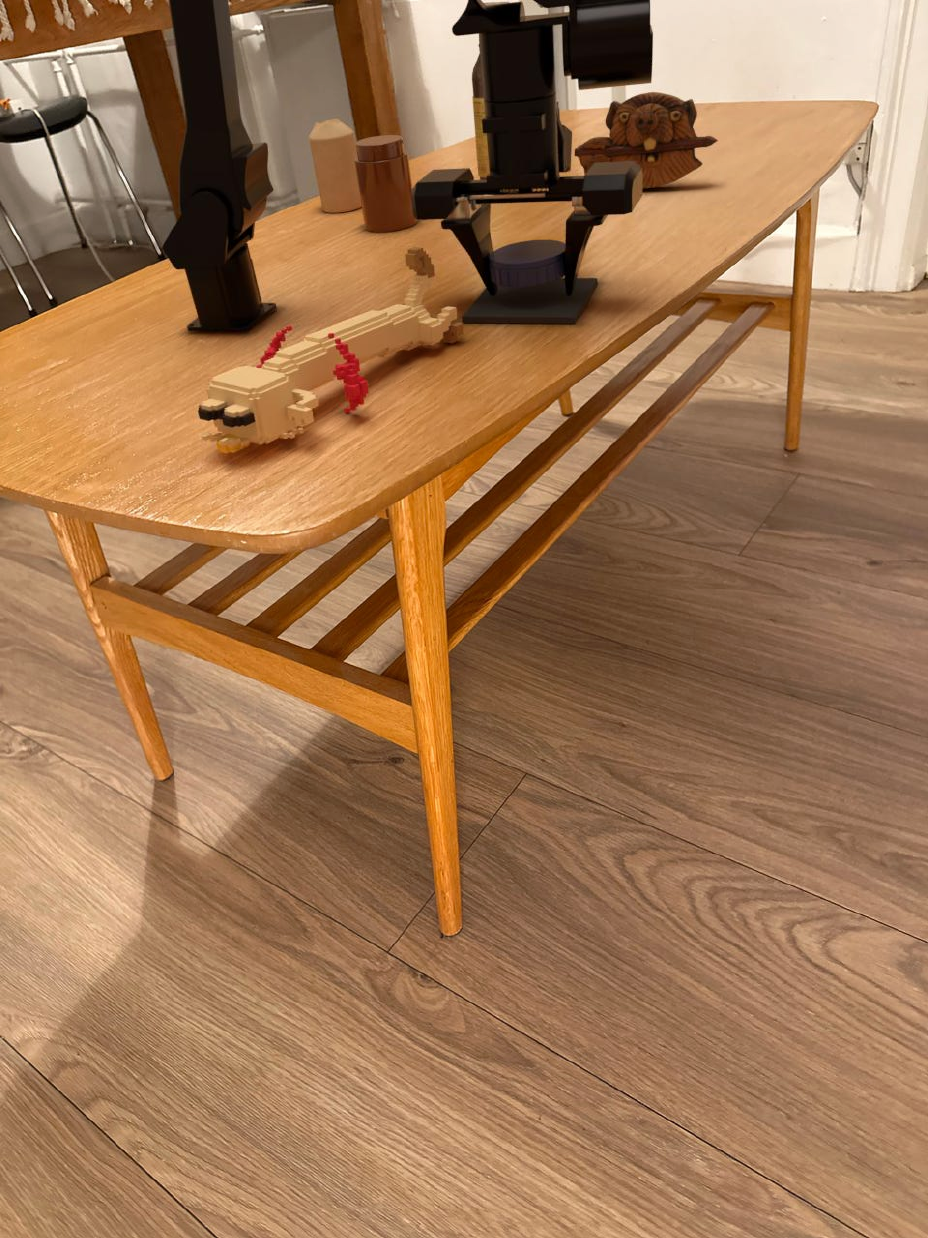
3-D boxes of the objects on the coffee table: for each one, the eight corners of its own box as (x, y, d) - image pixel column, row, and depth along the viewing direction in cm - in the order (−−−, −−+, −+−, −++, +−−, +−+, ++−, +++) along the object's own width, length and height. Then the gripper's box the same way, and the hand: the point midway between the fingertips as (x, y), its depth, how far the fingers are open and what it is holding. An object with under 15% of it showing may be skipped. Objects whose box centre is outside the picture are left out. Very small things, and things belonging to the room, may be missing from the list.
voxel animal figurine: (393, 342, 81) (168, 441, 65) (383, 238, 76) (137, 316, 60) (485, 359, 76) (266, 470, 60) (480, 248, 71) (240, 336, 55)
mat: (574, 324, 77) (574, 317, 77) (462, 323, 80) (461, 316, 80) (597, 284, 84) (597, 277, 84) (494, 284, 87) (493, 278, 87)
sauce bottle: (518, 196, 113) (506, 3, 101) (472, 196, 115) (455, 8, 103) (536, 182, 118) (526, -3, 106) (491, 183, 120) (476, 1, 108)
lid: (512, 261, 84) (510, 238, 83) (581, 262, 81) (580, 239, 80) (477, 286, 80) (474, 263, 79) (549, 288, 77) (547, 264, 76)
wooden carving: (573, 197, 110) (570, 103, 104) (578, 187, 113) (576, 96, 107) (714, 189, 106) (720, 91, 100) (715, 180, 109) (721, 84, 103)
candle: (357, 211, 115) (343, 123, 109) (316, 214, 117) (300, 126, 111) (369, 200, 120) (356, 114, 114) (330, 202, 121) (314, 117, 115)
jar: (407, 231, 106) (395, 144, 100) (357, 233, 107) (343, 147, 102) (423, 216, 110) (413, 132, 105) (375, 218, 112) (363, 135, 106)
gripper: (654, 70, 75) (650, 264, 85) (441, 85, 81) (460, 266, 90) (631, 95, 67) (630, 306, 77) (396, 110, 73) (422, 305, 82)
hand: (531, 293), depth 82 cm, fingers closed on lid, 7 cm apart
